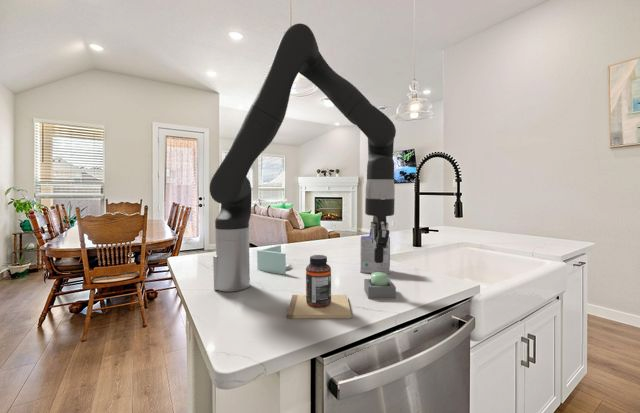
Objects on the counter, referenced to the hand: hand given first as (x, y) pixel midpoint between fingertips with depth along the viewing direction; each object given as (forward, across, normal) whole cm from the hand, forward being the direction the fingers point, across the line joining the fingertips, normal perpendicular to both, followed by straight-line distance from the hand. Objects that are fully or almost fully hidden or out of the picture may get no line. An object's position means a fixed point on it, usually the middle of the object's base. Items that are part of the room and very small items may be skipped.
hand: (378, 262), depth 77 cm
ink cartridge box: (+9, -22, +3) cm, 24 cm away
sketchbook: (+9, +9, -16) cm, 20 cm away
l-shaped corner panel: (+10, -27, -30) cm, 41 cm away
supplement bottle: (+8, +9, -16) cm, 20 cm away
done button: (+7, 0, 0) cm, 7 cm away
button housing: (+9, 0, 0) cm, 9 cm away
